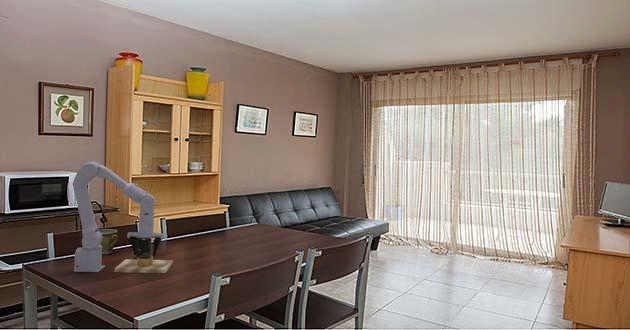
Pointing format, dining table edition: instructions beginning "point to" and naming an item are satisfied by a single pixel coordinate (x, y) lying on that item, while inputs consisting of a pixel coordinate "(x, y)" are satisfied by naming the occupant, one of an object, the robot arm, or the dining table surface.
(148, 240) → the supplement bottle
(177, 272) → the dining table surface
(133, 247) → the robot arm
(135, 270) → the piston block
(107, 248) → the ceramic cup
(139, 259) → the wooden ring
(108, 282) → the dining table surface
